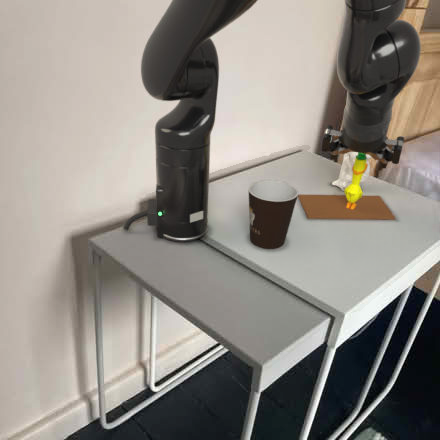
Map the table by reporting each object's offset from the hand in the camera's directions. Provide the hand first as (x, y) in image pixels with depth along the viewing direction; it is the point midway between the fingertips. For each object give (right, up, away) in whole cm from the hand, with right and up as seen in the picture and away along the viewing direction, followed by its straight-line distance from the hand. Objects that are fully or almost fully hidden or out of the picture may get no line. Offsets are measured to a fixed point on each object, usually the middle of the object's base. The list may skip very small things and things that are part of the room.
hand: (358, 161), depth 97 cm
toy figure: (0, -8, +6) cm, 10 cm away
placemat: (-1, -8, +7) cm, 10 cm away
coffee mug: (-18, -15, -4) cm, 24 cm away
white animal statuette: (+1, -2, +15) cm, 15 cm away
